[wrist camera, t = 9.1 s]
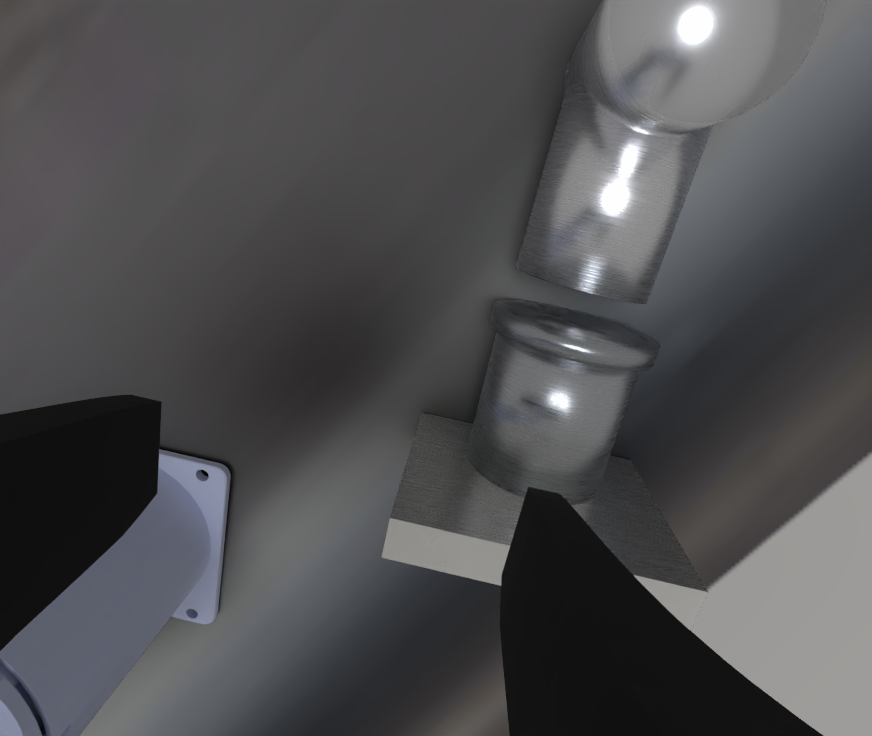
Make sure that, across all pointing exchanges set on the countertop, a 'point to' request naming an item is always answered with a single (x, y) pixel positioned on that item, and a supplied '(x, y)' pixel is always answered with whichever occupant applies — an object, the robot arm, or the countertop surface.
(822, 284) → the countertop surface
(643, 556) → the duct stub
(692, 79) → the elbow
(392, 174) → the countertop surface
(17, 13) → the countertop surface
